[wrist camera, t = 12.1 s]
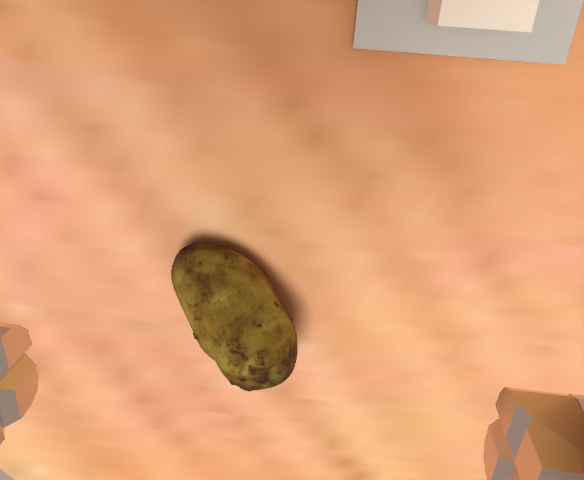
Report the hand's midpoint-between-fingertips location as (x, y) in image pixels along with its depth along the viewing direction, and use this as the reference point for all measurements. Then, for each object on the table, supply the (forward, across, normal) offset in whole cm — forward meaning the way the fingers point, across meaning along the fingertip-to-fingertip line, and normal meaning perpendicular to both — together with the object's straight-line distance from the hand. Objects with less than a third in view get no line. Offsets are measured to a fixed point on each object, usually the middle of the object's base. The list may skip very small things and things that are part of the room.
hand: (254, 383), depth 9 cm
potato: (+31, +6, +18) cm, 37 cm away
